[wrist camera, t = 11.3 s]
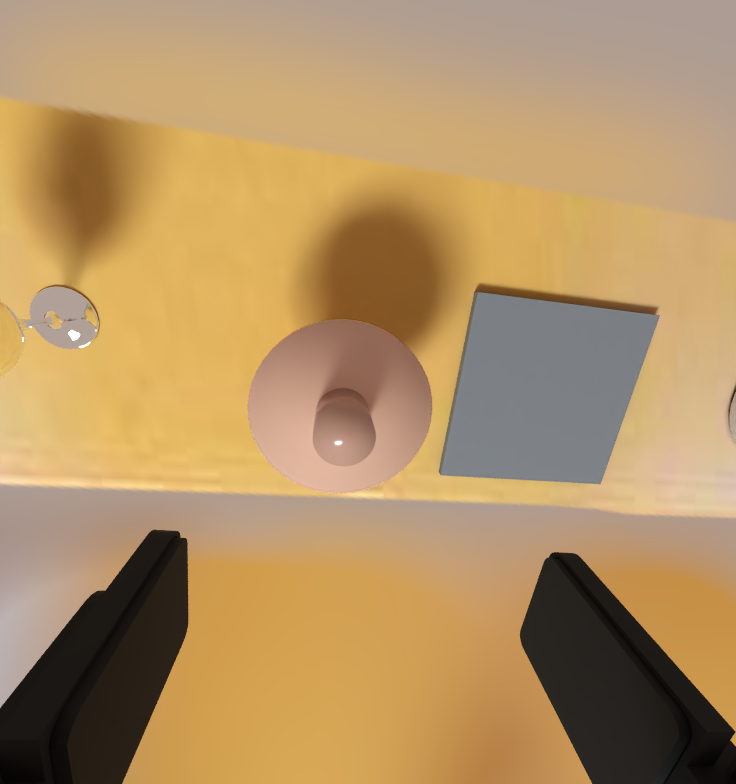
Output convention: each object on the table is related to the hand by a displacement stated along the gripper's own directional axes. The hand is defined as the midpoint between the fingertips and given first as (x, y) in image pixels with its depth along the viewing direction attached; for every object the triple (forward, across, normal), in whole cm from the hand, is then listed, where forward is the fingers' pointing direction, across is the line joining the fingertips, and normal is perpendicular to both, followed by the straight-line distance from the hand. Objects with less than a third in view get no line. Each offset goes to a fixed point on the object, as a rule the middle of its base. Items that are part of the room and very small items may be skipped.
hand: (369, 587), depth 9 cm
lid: (+14, +1, 0) cm, 14 cm away
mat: (+21, -17, 0) cm, 27 cm away
